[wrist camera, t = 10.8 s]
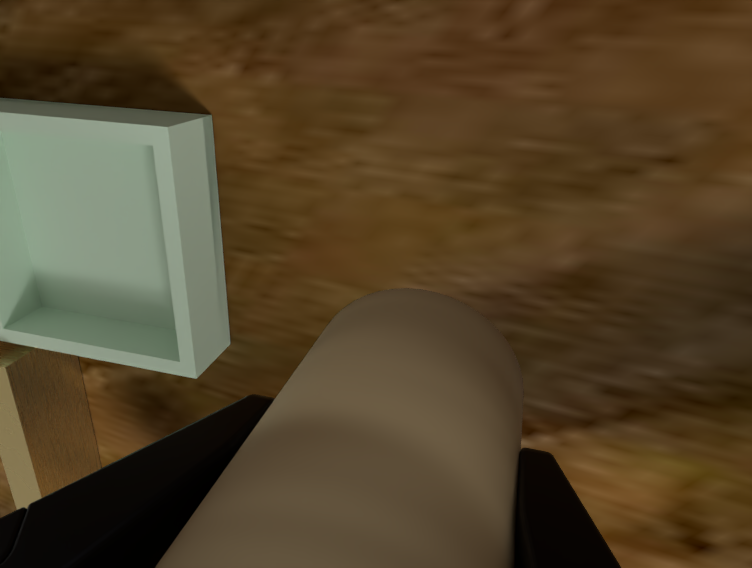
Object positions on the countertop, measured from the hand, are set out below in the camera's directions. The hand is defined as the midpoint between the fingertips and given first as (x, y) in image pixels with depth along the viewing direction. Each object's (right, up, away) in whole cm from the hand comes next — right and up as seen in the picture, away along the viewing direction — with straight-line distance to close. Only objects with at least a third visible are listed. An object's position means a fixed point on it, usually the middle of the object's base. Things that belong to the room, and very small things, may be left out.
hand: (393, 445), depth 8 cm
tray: (-10, +5, +14) cm, 18 cm away
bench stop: (-15, -5, +19) cm, 25 cm away
